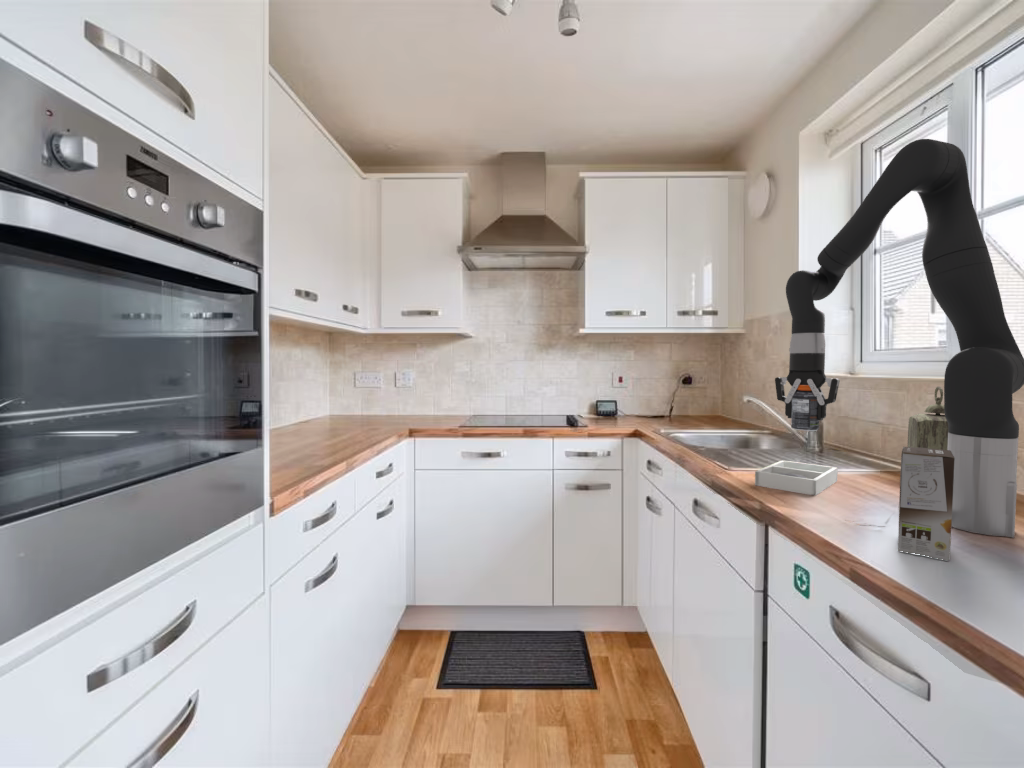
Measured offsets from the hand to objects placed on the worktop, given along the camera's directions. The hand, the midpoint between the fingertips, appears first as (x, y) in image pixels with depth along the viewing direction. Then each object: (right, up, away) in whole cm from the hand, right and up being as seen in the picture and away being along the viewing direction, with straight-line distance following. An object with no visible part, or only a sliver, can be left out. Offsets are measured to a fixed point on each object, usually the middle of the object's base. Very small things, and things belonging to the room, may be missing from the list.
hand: (804, 418), depth 120 cm
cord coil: (-7, -15, -6) cm, 18 cm away
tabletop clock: (+35, -17, +3) cm, 39 cm away
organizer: (-4, -17, -3) cm, 17 cm away
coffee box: (-7, -18, -42) cm, 47 cm away
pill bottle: (0, -3, 0) cm, 3 cm away
